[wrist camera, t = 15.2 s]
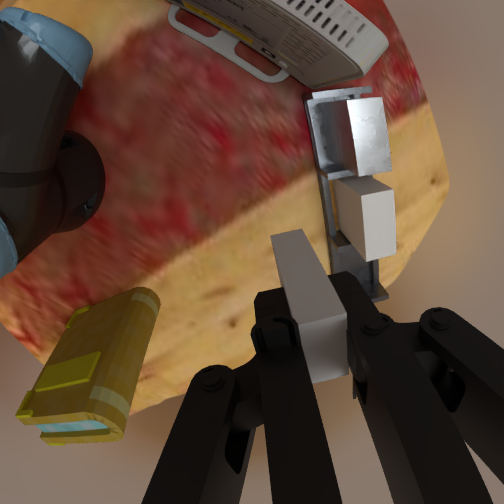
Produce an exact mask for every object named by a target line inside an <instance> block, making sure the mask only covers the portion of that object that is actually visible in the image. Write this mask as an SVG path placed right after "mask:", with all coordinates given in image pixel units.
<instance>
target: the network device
mask: <svg viewBox="0 0 504 504" xmlns="http://www.w3.org/2000/svg"><path fill="white" fill-rule="evenodd" d="M167 1H169V2H171V3H173V4H172V6H171V7H170V9H169V11H168V20H169V22H170V24H171V25H172V26H173V27H174V28H175V29H176V30H178V31H180V32H182V33H184V34H186V35H187V36H189V37H191V38H193V39H195V40H196V41H198V42H200V43H202V44H203V45H205V46H207V47H209V48H210V49H212V50H214V51H215V52H217V53H219V54H220V55H222V56H223V57H225V58H227V59H228V60H230V61H232V62H233V63H235V64H236V65H238V66H239V67H241V68H242V69H244V70H246V71H247V72H249V73H250V74H252V75H253V76H255V77H256V78H257V79H259V80H261V81H263V82H267V83H277V82H280V81H282V80H284V79H285V78H287V77H288V76H289V75H290V74H291V75H292V76H294V77H295V78H296V79H298V80H299V81H300V82H302V83H303V84H304V85H306V86H308V87H309V88H311V89H318V88H322V87H326V86H330V85H333V84H337V83H341V82H345V81H350V80H354V79H358V78H362V77H364V76H365V74H366V73H367V72H368V71H369V69H370V68H371V67H372V66H373V64H374V63H375V62H376V61H377V60H378V58H379V57H380V56H381V55H382V53H383V52H384V51H385V50H386V49H387V47H388V46H389V43H388V40H387V38H386V37H385V35H384V34H383V33H382V32H381V31H380V30H379V29H378V28H377V27H376V26H374V25H373V24H372V23H371V22H370V21H369V20H368V19H366V18H365V17H364V16H363V15H362V14H360V13H359V12H358V11H357V10H355V9H354V8H353V7H352V6H350V5H349V4H348V3H347V2H345V1H344V0H167ZM181 8H183V9H185V10H187V11H189V12H191V13H193V14H195V15H197V16H199V17H201V18H202V19H204V20H206V21H208V22H210V23H212V24H213V25H215V26H217V27H219V28H220V29H221V30H220V31H219V32H218V34H217V35H215V36H213V37H205V36H203V35H201V34H200V33H198V32H196V31H194V30H192V29H190V28H189V27H187V26H185V25H183V24H181V23H179V22H177V21H176V19H175V16H176V14H177V12H178V11H179V10H180V9H181ZM239 41H242V42H244V43H245V44H247V45H248V46H250V47H252V48H253V49H255V50H256V51H258V52H259V53H261V54H262V55H264V56H265V57H267V58H268V59H270V60H271V61H273V62H274V63H275V64H277V65H278V66H280V67H281V68H282V69H281V70H280V72H279V73H278V74H277V75H275V76H267V75H265V74H264V73H262V72H261V71H259V70H258V69H256V68H255V67H254V66H252V65H250V64H249V63H247V62H246V61H244V60H243V59H241V58H240V57H238V56H237V55H236V54H235V52H234V48H235V46H236V45H237V44H238V43H239Z"/></svg>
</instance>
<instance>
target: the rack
mask: <svg viewBox="0 0 504 504" xmlns="http://www.w3.org/2000/svg"><path fill="white" fill-rule="evenodd" d="M362 93H372V89H371V86H368V87H356V88H346V89H337V90H329V91H321V92H313V93H309V94H305V95H302V98H303V102H304V107H305V112H306V116H307V121H308V126H309V131H310V136H311V141H312V147H313V152H314V157H315V163H316V169H317V175H318V180H319V186H320V193H321V199H322V205H323V212H324V219H325V226H326V233H327V241H328V249H329V257H330V265H331V274H335V273H339V272H343V271H348V272H349V273H351V274H353V275H355V276H356V277H357V279H358V280H359V282H360V284H361V285H362V286H363V288H364V290H365V291H366V293H367V294H368V296H369V297H370V299H371V300H372V302H373V303H375V302H379V301H382V300H386V299H388V298H389V294H388V293H387V292H386V290H385V289H384V287H383V286H382V285H381V284H380V282H379V264H378V259H375V260H371V261H368V262H366V261H365V260H364V258H363V257H362V256H361V255H360V253H359V252H358V251H357V250H356V248H355V247H354V246H353V245H352V244H351V242H350V241H349V240H348V239H347V237H346V236H345V235H344V234H343V233H342V231H341V230H340V229H339V228H338V221H337V213H336V205H335V198H334V191H333V184H332V179H337V178H342V177H348V176H353V175H357V176H359V177H360V176H365V175H368V176H370V177H372V174H376V173H382V172H388V171H392V166H391V157H390V148H389V140H388V133H387V126H386V119H385V113H384V107H383V101H382V97H374V98H361V97H360V94H362ZM372 178H373V177H372Z"/></svg>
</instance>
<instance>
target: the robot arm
mask: <svg viewBox="0 0 504 504" xmlns="http://www.w3.org/2000/svg"><path fill="white" fill-rule="evenodd" d="M92 55H93V50H92V46H91V44H90V42H89V41H88V40H87V39H86V38H85V37H84V36H83V35H81V34H80V33H78V32H77V31H75V30H73V29H72V28H70V27H68V26H66V25H64V24H62V23H60V22H58V21H56V20H54V19H51V18H49V17H46V16H44V15H41V14H38V13H32V12H30V11H26V10H24V9H21V8H16V7H7V8H5V9H3V10H2V11H1V12H0V279H1V278H2V277H3V276H5V275H6V274H7V273H10V272H12V271H13V270H14V269H15V268H16V267H17V265H18V264H19V263H20V262H21V261H22V260H23V259H24V258H25V257H26V256H27V255H29V254H30V253H31V252H32V251H33V250H34V249H35V248H37V247H38V246H39V245H40V244H41V243H42V242H43V241H45V240H46V239H47V238H48V237H49V236H50V235H52V234H55V233H61V232H67V231H71V230H74V229H76V228H78V227H80V226H82V225H83V224H84V223H85V222H87V221H88V220H89V219H90V218H91V217H92V216H93V215H94V214H95V213H96V211H97V210H98V208H99V206H100V204H101V202H102V199H103V195H104V190H105V173H104V167H103V164H102V161H101V158H100V156H99V154H98V152H97V150H96V149H95V147H94V146H93V145H92V144H91V143H90V142H89V141H88V140H87V139H86V138H85V137H83V136H82V135H80V134H78V133H76V132H72V131H67V130H65V129H66V126H67V123H68V120H69V117H70V114H71V111H72V109H73V106H74V103H75V101H76V98H77V95H78V93H79V90H82V88H83V79H84V77H85V74H86V72H87V69H88V67H89V64H90V62H91V59H92ZM270 237H271V241H272V246H273V251H274V255H275V260H276V264H277V269H278V274H279V278H280V283H281V287H280V288H276V289H272V290H267V291H263V292H258V294H257V296H256V298H255V300H254V308H255V317H256V324H255V325H254V326H253V328H252V330H251V338H252V341H253V344H254V348H255V351H256V355H255V356H254V357H253V358H252V359H251V360H250V361H249V362H248V363H246V364H244V365H242V366H240V367H238V368H236V369H233V370H232V369H230V368H229V367H227V366H224V365H211V366H208V367H206V368H203V369H201V370H200V371H199V372H198V373H196V374H195V376H194V377H193V379H192V380H191V383H190V385H189V388H188V390H187V392H186V395H185V397H184V400H183V402H182V405H181V407H180V410H179V412H178V415H177V417H176V419H175V422H174V424H173V427H172V429H171V432H170V434H169V437H168V439H167V441H166V444H165V446H164V449H163V451H162V454H161V456H160V459H159V461H158V464H157V466H156V469H155V471H154V473H153V476H152V478H151V481H150V484H149V486H148V488H147V491H146V493H145V496H144V498H143V501H142V503H141V504H239V501H240V497H241V493H242V489H243V485H244V480H245V476H246V472H247V467H248V462H249V458H250V454H251V449H252V445H253V440H254V435H255V431H256V427H258V426H260V425H262V424H264V428H265V438H266V447H267V456H268V466H269V474H270V483H271V493H272V501H273V504H342V500H341V496H340V491H339V487H338V483H337V479H336V475H335V471H334V467H333V463H332V458H331V454H330V451H329V447H328V443H327V439H326V435H325V431H324V427H323V423H322V419H321V416H320V411H319V408H318V404H317V400H316V396H315V392H314V389H313V385H312V384H313V383H317V382H321V381H325V380H329V379H333V378H337V377H341V376H344V375H348V374H349V367H350V369H351V372H352V374H353V399H356V395H357V397H358V400H359V403H360V405H361V408H362V411H363V414H364V416H365V419H366V422H367V425H368V428H369V430H370V433H371V436H372V439H373V442H374V445H375V448H376V450H377V453H378V456H379V459H380V462H381V465H382V468H383V471H384V474H385V477H386V480H387V483H388V486H389V490H390V493H391V496H392V499H393V502H394V504H493V502H492V499H491V497H490V495H489V492H488V490H487V488H486V486H485V483H484V481H483V479H482V477H481V475H480V472H479V471H478V468H477V466H476V464H475V462H474V460H473V458H472V456H471V454H470V452H469V450H468V448H467V446H466V444H465V442H466V443H467V444H468V445H469V446H470V447H471V448H472V450H473V451H474V452H475V453H476V454H477V455H478V456H479V457H480V458H481V459H482V461H483V462H484V463H485V464H486V465H487V466H488V467H489V468H490V470H491V471H492V472H493V473H494V474H495V475H496V476H497V478H498V479H499V480H500V481H501V482H502V483H503V484H504V349H503V348H501V347H500V346H499V345H497V344H496V343H495V342H493V341H492V340H491V339H490V338H488V337H487V336H486V335H484V334H483V333H482V332H480V331H479V330H478V329H476V328H475V327H474V326H472V325H471V324H470V323H468V322H467V321H465V320H464V319H463V318H462V317H460V316H459V315H457V314H456V313H455V312H453V311H451V310H449V309H447V308H441V307H437V308H431V309H428V310H426V311H425V312H424V313H423V314H422V315H421V318H420V321H419V322H411V323H397V322H394V321H393V319H391V318H390V317H389V316H388V315H386V314H383V313H379V311H378V310H377V308H376V306H375V305H374V303H373V302H372V300H371V299H370V297H369V296H368V294H367V293H366V291H365V290H364V288H363V286H362V285H361V284H360V282H359V280H358V279H357V277H356V276H355V275H353V274H351V273H349V272H348V271H343V272H339V273H335V274H331V275H327V274H326V272H325V270H324V268H323V266H322V265H321V263H320V261H319V259H318V257H317V255H316V254H315V252H314V250H313V248H312V246H311V244H310V243H309V241H308V239H307V237H306V235H305V233H304V232H303V230H302V229H298V230H293V231H289V232H285V233H280V234H276V235H271V236H270ZM464 441H465V442H464Z"/></svg>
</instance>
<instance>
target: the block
mask: <svg viewBox="0 0 504 504" xmlns="http://www.w3.org/2000/svg"><path fill="white" fill-rule="evenodd" d="M332 184H333V191H334V198H335V205H336V213H337V221H338V228H339V229H340V230H341V231H342V233H343V234H344V235H345V236H346V237H347V239H348V240H349V241H350V242H351V244H352V245H353V246H354V247H355V248H356V250H357V251H358V252H359V253H360V255H361V256H362V257H363V258H364V260H365V261H366V262H368V261H371V260H375V259H379V258H383V257H387V256H391V255H394V254H396V225H395V204H394V189H392V188H390V187H388V186H387V185H385V184H383V183H381V182H379V181H378V180H376V179H374V178H372V177H370V176H368V175H365V176H360V177H359V176H357V175H353V176H348V177H342V178H337V179H332Z"/></svg>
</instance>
